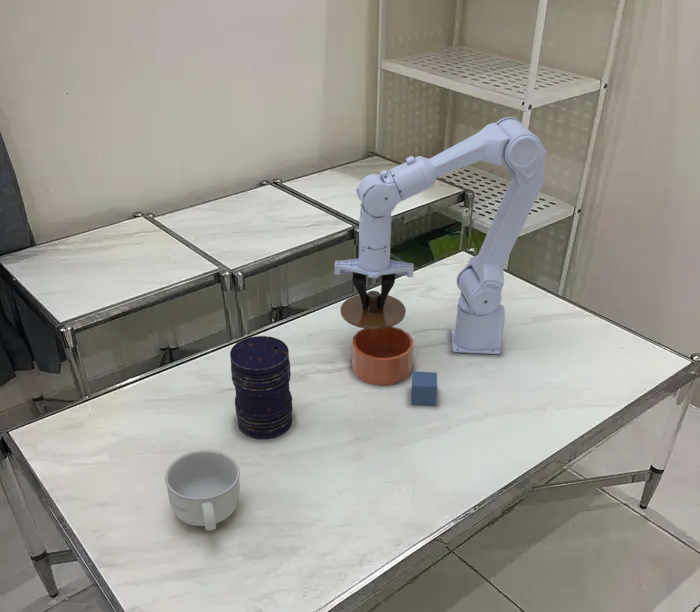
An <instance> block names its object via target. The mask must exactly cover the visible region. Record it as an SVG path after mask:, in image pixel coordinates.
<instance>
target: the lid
mask: <svg viewBox="0 0 700 612" xmlns="http://www.w3.org/2000/svg"><path fill="white" fill-rule="evenodd" d="M380 296H381V292H380V291H376V290H370V291H367V306H366V309H363V307H362V302H361V298H360V295H359V294H356V295H353V296H350V297H349V298H347V299H346V300H344V301H343V303H341V306H340V311H339V312H340V316H341V318H342V319H343V320H344V321H345V322H346V323H348V324H349V325H352V326H353V327H356V328H360V329H384V328H389V327H392V326H393V327H395V326H396V325H398V324H400V323H401V322H403V320H404V319H405V317H406V313H407V309H406V307H405V304H404V303H403V302H402V301H401V300H399V299H398V298H396V297H394V296H391V295H389V294H388V295H387V298H386V300H385V303H384V307H383V310H380Z"/></svg>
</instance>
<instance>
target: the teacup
mask: <svg viewBox="0 0 700 612" xmlns="http://www.w3.org/2000/svg"><path fill="white" fill-rule="evenodd" d="M240 477H241V471H240V465H239V464H238V462H237V461H236V460H235V459H234V458H233V457H232V456H230V455H229V454H227V453H224V452H222V451H218V450H212V449H197V450H194V451H190V452H187V453H185V454H182V455H180V456H178V457H176V459H174V460H173V461H172V462H171V463H170V464H169V465H168V467H167V469H166V471H165V474H164V482H165V485H166V490H167V491H166V492H167V496H168V501H169V505H170V507H171V510H172V512H173V513H174V515H175V516H176V517H177V518H178V519H179V520H180V521H182V522H183V523H186V524H188V525H191V526H196V527H205V530H206V531H213V530H216V529H217V524H220V523H221V522H223V521H225V520H226V519H228V518H229V517H230V516H232V514H233V513H234V512H235V510H236V508H237V506H238V505H239V500H240Z"/></svg>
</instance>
